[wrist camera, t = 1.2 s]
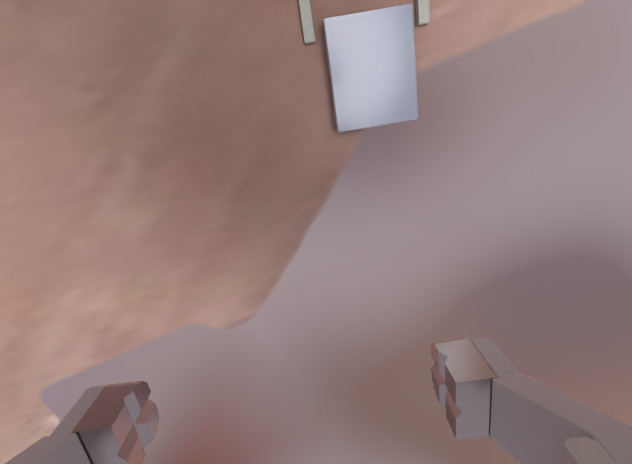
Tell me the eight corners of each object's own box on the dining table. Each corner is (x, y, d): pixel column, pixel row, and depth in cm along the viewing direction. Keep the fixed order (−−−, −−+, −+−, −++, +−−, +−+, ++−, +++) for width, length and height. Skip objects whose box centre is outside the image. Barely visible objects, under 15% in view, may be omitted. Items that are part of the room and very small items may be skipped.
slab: (322, 25, 34) (324, 18, 32) (403, 10, 34) (412, 3, 31) (336, 129, 38) (338, 132, 35) (409, 117, 38) (418, 119, 35)
